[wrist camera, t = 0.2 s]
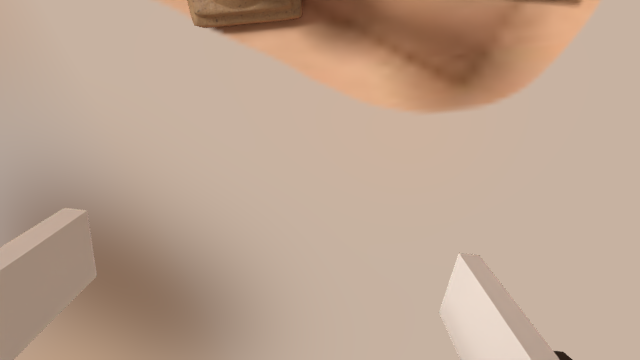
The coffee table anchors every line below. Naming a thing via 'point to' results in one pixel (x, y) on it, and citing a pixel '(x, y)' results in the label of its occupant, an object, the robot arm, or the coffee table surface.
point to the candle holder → (242, 11)
